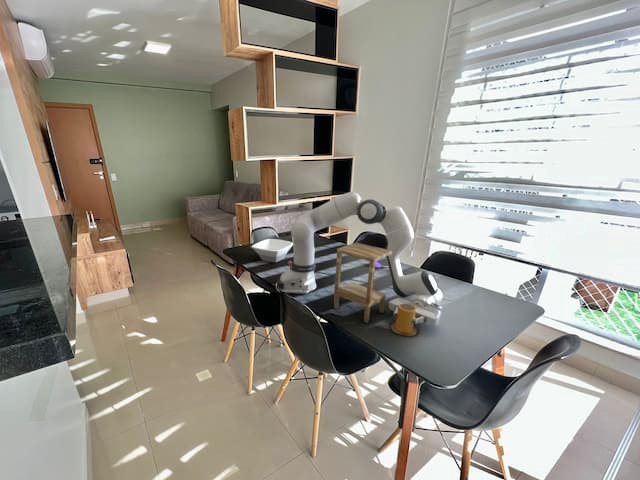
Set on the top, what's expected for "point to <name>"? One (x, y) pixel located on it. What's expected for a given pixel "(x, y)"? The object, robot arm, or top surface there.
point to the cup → (405, 317)
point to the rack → (353, 290)
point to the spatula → (380, 265)
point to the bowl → (272, 249)
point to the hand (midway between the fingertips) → (404, 317)
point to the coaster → (403, 332)
